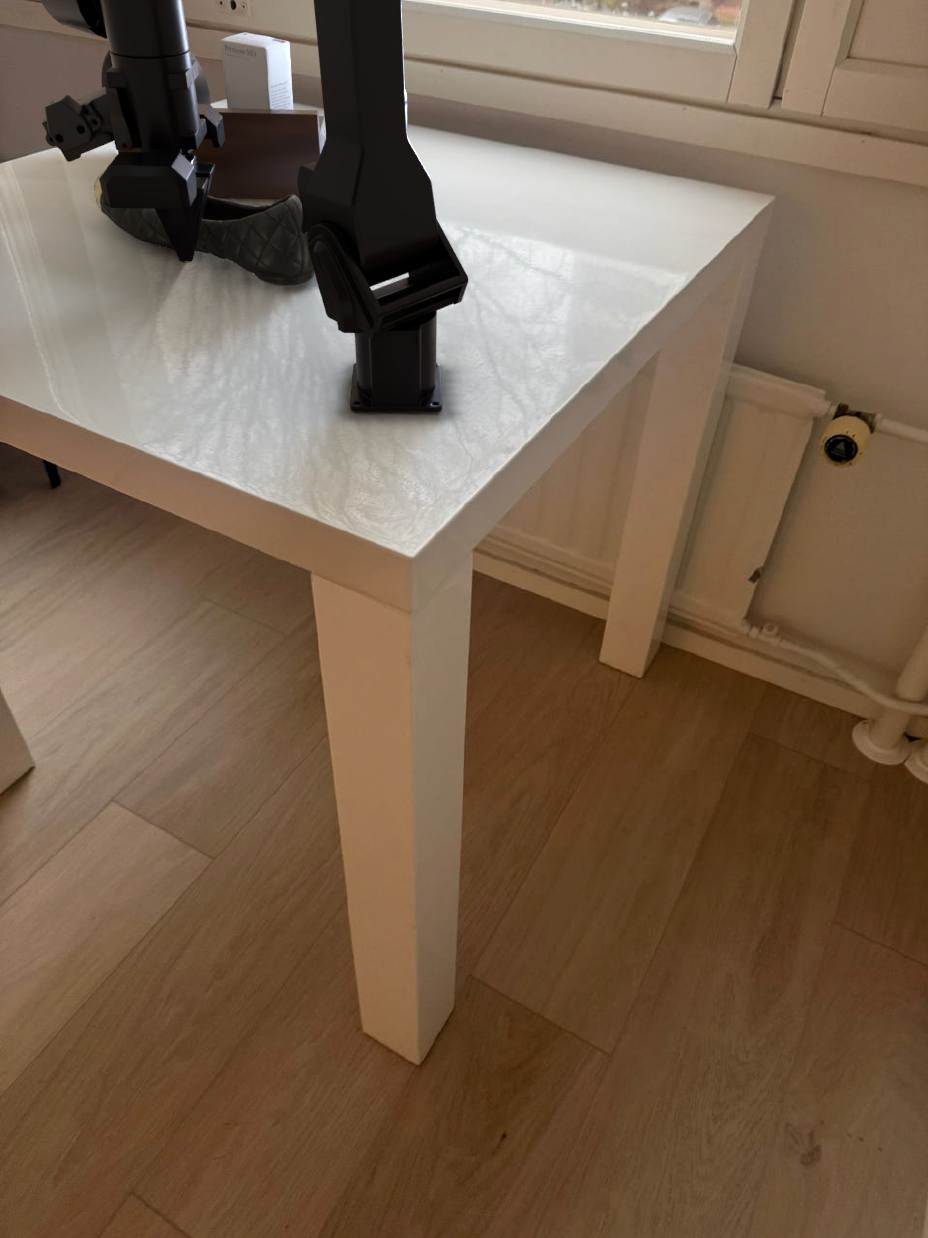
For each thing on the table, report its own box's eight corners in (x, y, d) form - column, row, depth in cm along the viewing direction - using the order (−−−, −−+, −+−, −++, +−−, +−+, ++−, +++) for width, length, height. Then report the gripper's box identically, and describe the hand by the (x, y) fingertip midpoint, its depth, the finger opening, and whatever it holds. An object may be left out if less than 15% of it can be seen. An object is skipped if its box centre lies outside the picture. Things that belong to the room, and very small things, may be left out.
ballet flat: (147, 204, 92) (131, 124, 87) (352, 268, 83) (348, 182, 78) (78, 230, 87) (57, 146, 82) (289, 302, 77) (280, 211, 72)
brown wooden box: (323, 199, 95) (317, 114, 90) (127, 195, 94) (108, 109, 89) (327, 176, 100) (322, 94, 95) (141, 172, 99) (125, 89, 94)
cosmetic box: (231, 164, 102) (215, 38, 94) (257, 154, 105) (243, 30, 97) (275, 175, 100) (262, 46, 92) (300, 164, 103) (290, 38, 95)
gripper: (72, 23, 75) (115, 222, 85) (-3, 76, 61) (59, 305, 71) (211, 27, 75) (237, 223, 86) (168, 80, 61) (205, 306, 72)
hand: (186, 261), depth 78 cm, fingers closed
